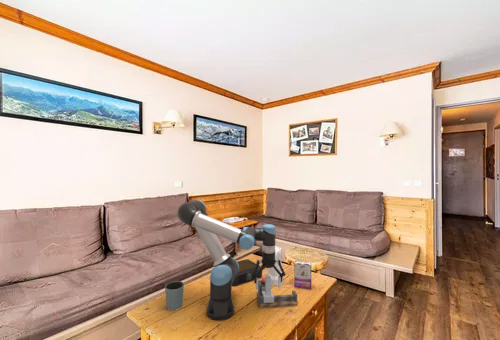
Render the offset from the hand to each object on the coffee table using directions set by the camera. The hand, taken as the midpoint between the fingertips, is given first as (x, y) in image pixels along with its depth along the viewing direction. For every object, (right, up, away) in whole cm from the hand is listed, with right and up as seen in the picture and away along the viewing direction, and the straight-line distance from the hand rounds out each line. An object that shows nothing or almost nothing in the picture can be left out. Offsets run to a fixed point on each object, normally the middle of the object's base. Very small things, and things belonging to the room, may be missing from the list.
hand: (268, 288), depth 136 cm
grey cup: (-54, -8, -4) cm, 54 cm away
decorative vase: (+7, -9, +26) cm, 29 cm away
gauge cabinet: (-2, -9, +9) cm, 13 cm away
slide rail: (+5, -9, +1) cm, 11 cm away
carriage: (0, -7, 0) cm, 7 cm away
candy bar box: (+25, -10, +20) cm, 34 cm away
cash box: (-17, -9, +34) cm, 39 cm away
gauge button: (-2, -1, +9) cm, 9 cm away
